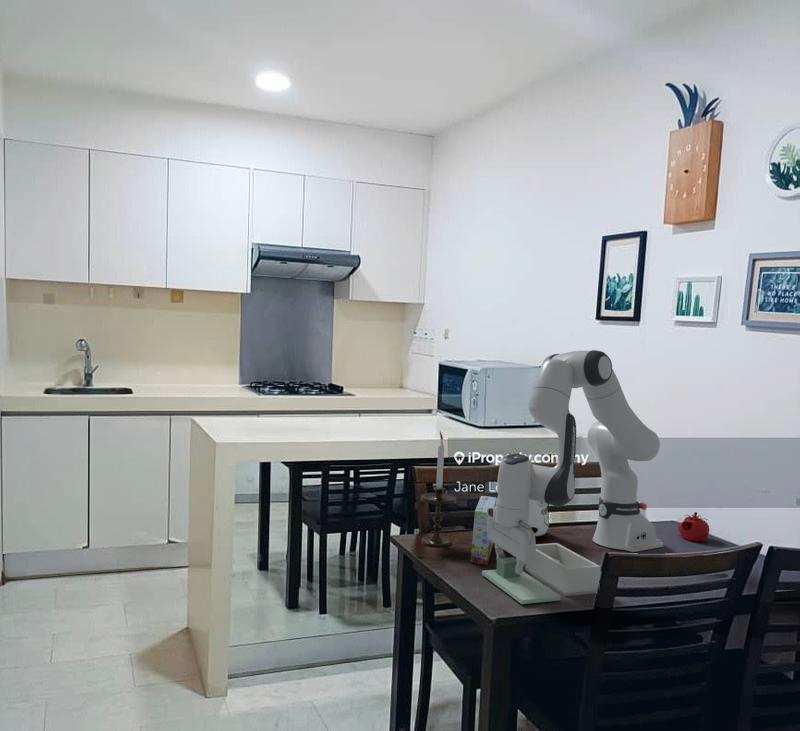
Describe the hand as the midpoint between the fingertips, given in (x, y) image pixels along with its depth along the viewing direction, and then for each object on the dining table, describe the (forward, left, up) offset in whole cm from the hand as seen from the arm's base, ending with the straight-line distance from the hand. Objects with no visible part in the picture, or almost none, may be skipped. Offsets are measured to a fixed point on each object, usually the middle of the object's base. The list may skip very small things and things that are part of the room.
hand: (509, 567), depth 186 cm
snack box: (-4, -22, -4) cm, 23 cm away
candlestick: (+6, -34, -4) cm, 35 cm away
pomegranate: (-83, -21, -4) cm, 86 cm away
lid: (0, +6, -3) cm, 7 cm away
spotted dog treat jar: (-26, -37, -4) cm, 46 cm away
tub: (-14, +4, -4) cm, 15 cm away
